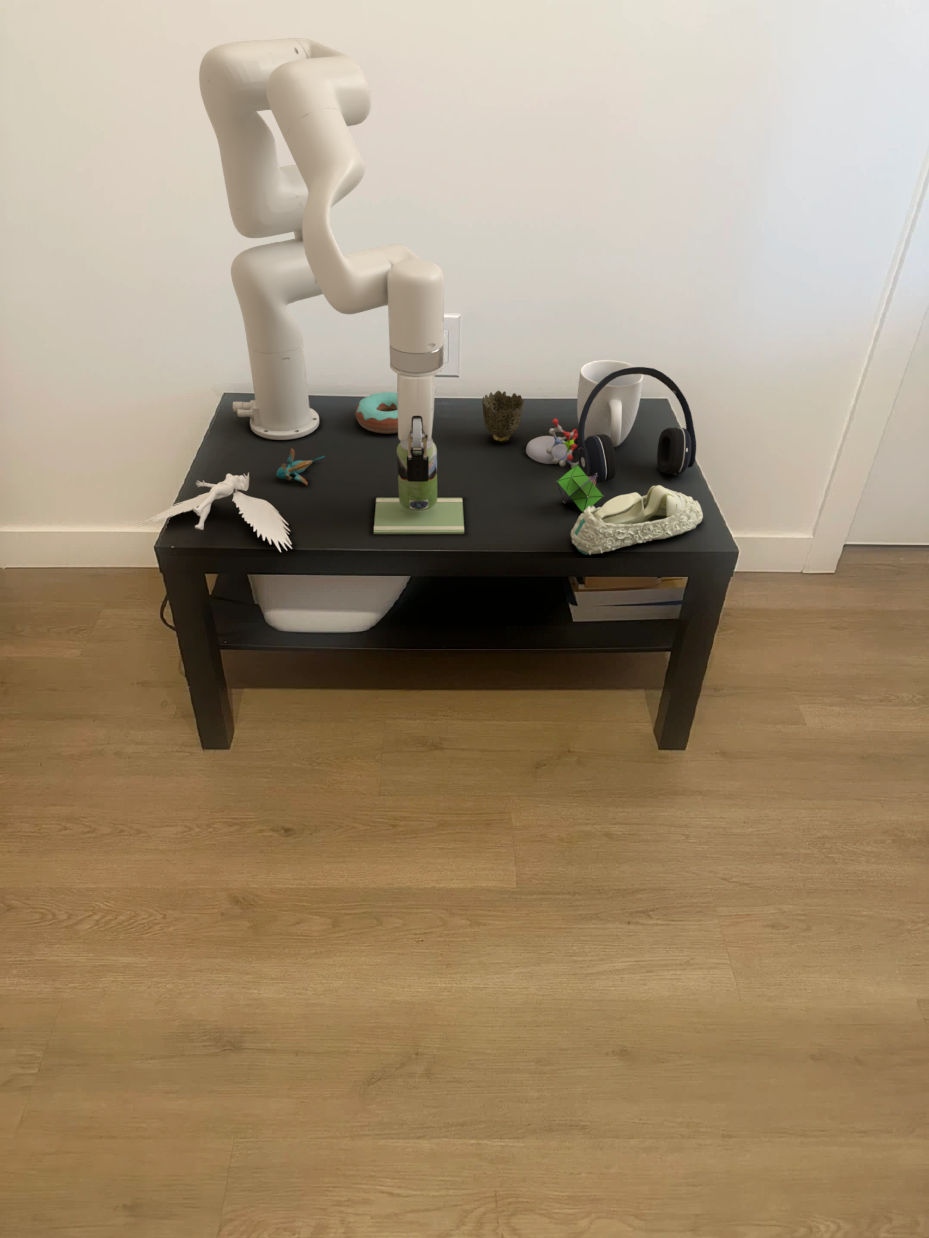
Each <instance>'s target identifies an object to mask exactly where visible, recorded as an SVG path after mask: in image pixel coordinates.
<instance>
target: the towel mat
mask: <svg viewBox="0 0 929 1238" xmlns="http://www.w3.org/2000/svg"><path fill="white" fill-rule="evenodd" d="M463 504H464V503H463V497H437V502H436V504H435V505H434V506H433V507H431V508H429V509H427V510H424V511H412V510H409V509H407V508H405V507H403V506H402V505H401V503H400V501H399V497H376V498H375V510H374V511H375V512H374V524H373V535H465V523H464V522H465V520H464V505H463Z"/></svg>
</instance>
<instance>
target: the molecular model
mask: <svg viewBox="0 0 929 1238" xmlns="http://www.w3.org/2000/svg"><path fill="white" fill-rule="evenodd" d="M552 424H553V425H554V426H555V427H554V428H552V427H551V428H550V429H549V431H548V434H549V435H550V436H553V437H554V439H555V441H554V442H555V443H554V444H553V445H552V446H551V447H549V448H547V449H546V452H547V453H548V454H550V455H551V456H552V458H553V463H554V464H553V465H557V464H559V466H560V467H565V466H567V465H566V464H569V465H570V469H572V468H573V467H574V466H575V465H576V464H578V465H579V462H578V461H576V462H572V461H573V460H574V456H573V452H574V450H577V444H576V443H575V440H578V429H576V428H574V429H572V430H571V432H570V431H566V430H563V427H562V426H561V425H560V423H559V420H558V418H554V419H552ZM556 432H557V433H561V434H563V435H564V436H563V437H561V436H558V437H557V435H556ZM562 440H564V441H565V440H567V441H565V442H562ZM558 444H564V445H566V447H567V448H568V449H567V452H566V455H565V456H564V457H563V458H561V459H558V458H555V456H554V455H553V453H552V449H553V448H554V447H555V446H556V445H558ZM570 449H571V451H570V452H569V450H570ZM559 461H560V463H558V462H559Z"/></svg>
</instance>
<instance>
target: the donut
mask: <svg viewBox="0 0 929 1238" xmlns="http://www.w3.org/2000/svg"><path fill="white" fill-rule="evenodd" d="M355 418H356V420H357V423H358V424H359V425H360V426H361V427H362V428H363V429H365V430H367V431H370V432H372V433H376V434H381V435H382V434H383V435H391V434H392V435H393V434H398V406H397V392H391V391H390V392H389V391H388V392H385V391H384V392H375V393H373V394H369V395H367V396H365V397H363V398H362V399H360V400H359V402H358V404H357V406H356V408H355Z"/></svg>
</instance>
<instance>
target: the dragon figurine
mask: <svg viewBox="0 0 929 1238" xmlns="http://www.w3.org/2000/svg"><path fill="white" fill-rule="evenodd" d="M295 454H296V453H295V450H294V449H293V447H291V448H290V453H289V456H288V458H287V460H286V462H287V463H289V464H287V463H282V464H281V466H280V467H279V468H278V469H277V471H276V477H277V478H279V479H281V480H288V481H291V479H293V477H292V476H294V480H295V481H298V482H301V483H302V484H304V485H306V486H308V484H309V483H308V481H307V480H306V478H305V477H303V476H302V475H300V474H301V473H303V472H305V471H306V469H307V468H308V467H309V466H310V465H312V464H313V462H316V461H319V460H322V459H323V458H325V457H326V455H323V456H320V457H317V458H315V459H313V460H312V459H309V460H301V459H299V460H295Z"/></svg>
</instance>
